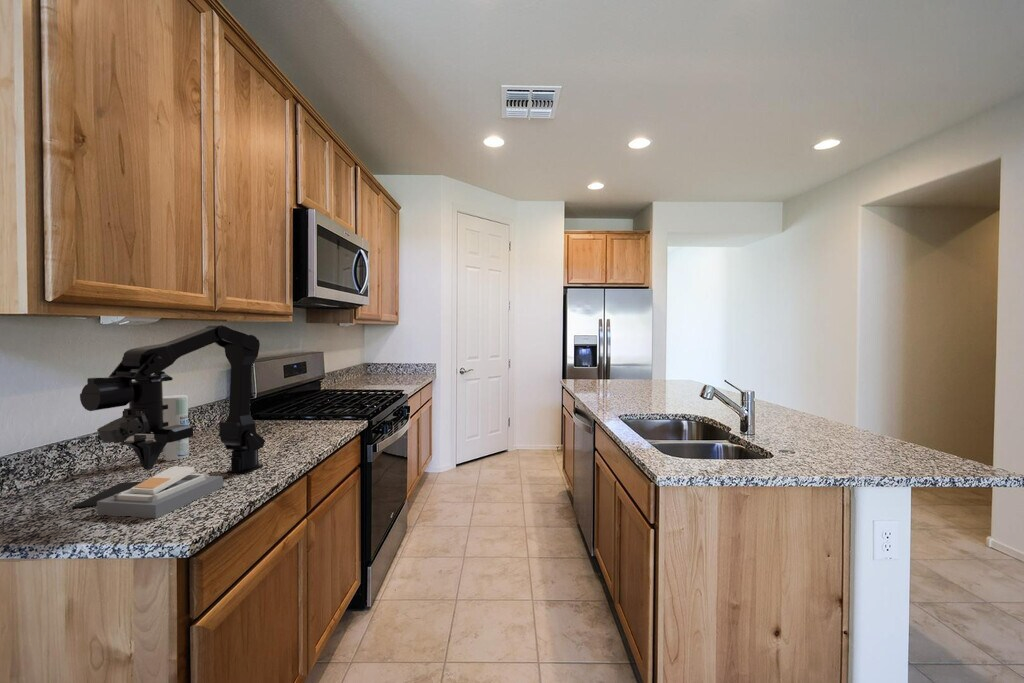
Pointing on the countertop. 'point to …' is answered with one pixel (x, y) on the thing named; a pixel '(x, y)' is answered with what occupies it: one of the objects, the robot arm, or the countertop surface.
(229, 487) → the countertop surface
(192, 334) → the robot arm
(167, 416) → the spray can
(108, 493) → the smartphone
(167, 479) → the rocker switch
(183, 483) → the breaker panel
